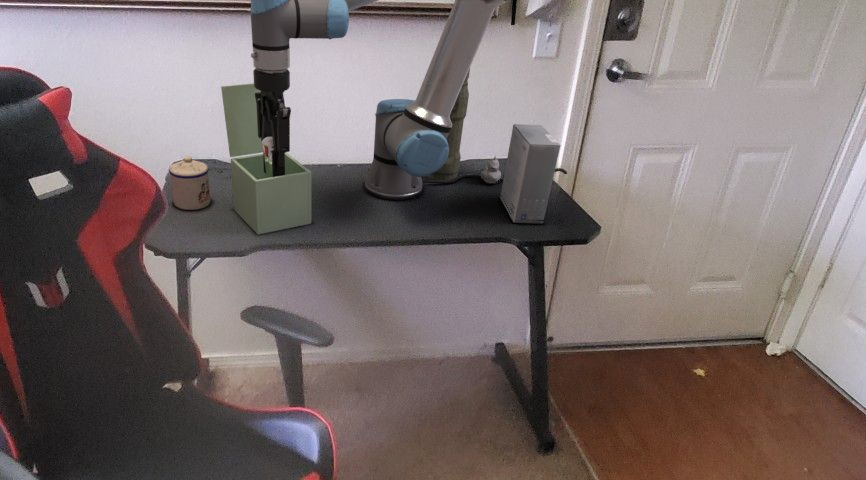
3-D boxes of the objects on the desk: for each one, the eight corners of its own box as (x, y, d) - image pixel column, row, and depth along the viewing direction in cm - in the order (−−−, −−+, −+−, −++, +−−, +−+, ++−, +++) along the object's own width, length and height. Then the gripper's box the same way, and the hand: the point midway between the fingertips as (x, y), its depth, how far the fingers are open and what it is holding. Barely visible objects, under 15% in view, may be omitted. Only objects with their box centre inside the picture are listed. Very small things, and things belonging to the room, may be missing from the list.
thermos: (451, 168, 190) (468, 38, 171) (463, 184, 181) (482, 49, 161) (421, 169, 189) (434, 38, 169) (431, 185, 180) (447, 48, 160)
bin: (311, 223, 156) (311, 172, 149) (257, 234, 150) (255, 181, 143) (285, 200, 167) (284, 150, 159) (233, 209, 160) (230, 158, 153)
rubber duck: (484, 187, 180) (489, 159, 176) (476, 178, 186) (480, 150, 181) (503, 186, 181) (508, 158, 177) (494, 177, 187) (499, 149, 182)
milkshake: (288, 174, 153) (287, 130, 147) (278, 181, 148) (276, 137, 143) (270, 171, 154) (268, 128, 148) (260, 178, 149) (257, 134, 144)
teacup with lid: (207, 212, 159) (202, 165, 152) (168, 210, 158) (162, 163, 152) (217, 192, 168) (213, 147, 162) (181, 190, 168) (175, 145, 162)
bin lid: (278, 81, 152) (277, 80, 153) (222, 86, 146) (220, 86, 147) (284, 149, 159) (283, 148, 159) (230, 157, 153) (229, 156, 153)
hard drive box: (543, 224, 163) (561, 145, 152) (513, 224, 162) (528, 144, 151) (527, 198, 176) (542, 123, 164) (498, 198, 175) (512, 122, 164)
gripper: (238, 60, 142) (244, 164, 155) (271, 80, 130) (274, 192, 143) (271, 57, 145) (273, 160, 158) (306, 77, 133) (306, 186, 147)
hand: (274, 175), depth 151 cm, fingers closed on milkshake, 4 cm apart
